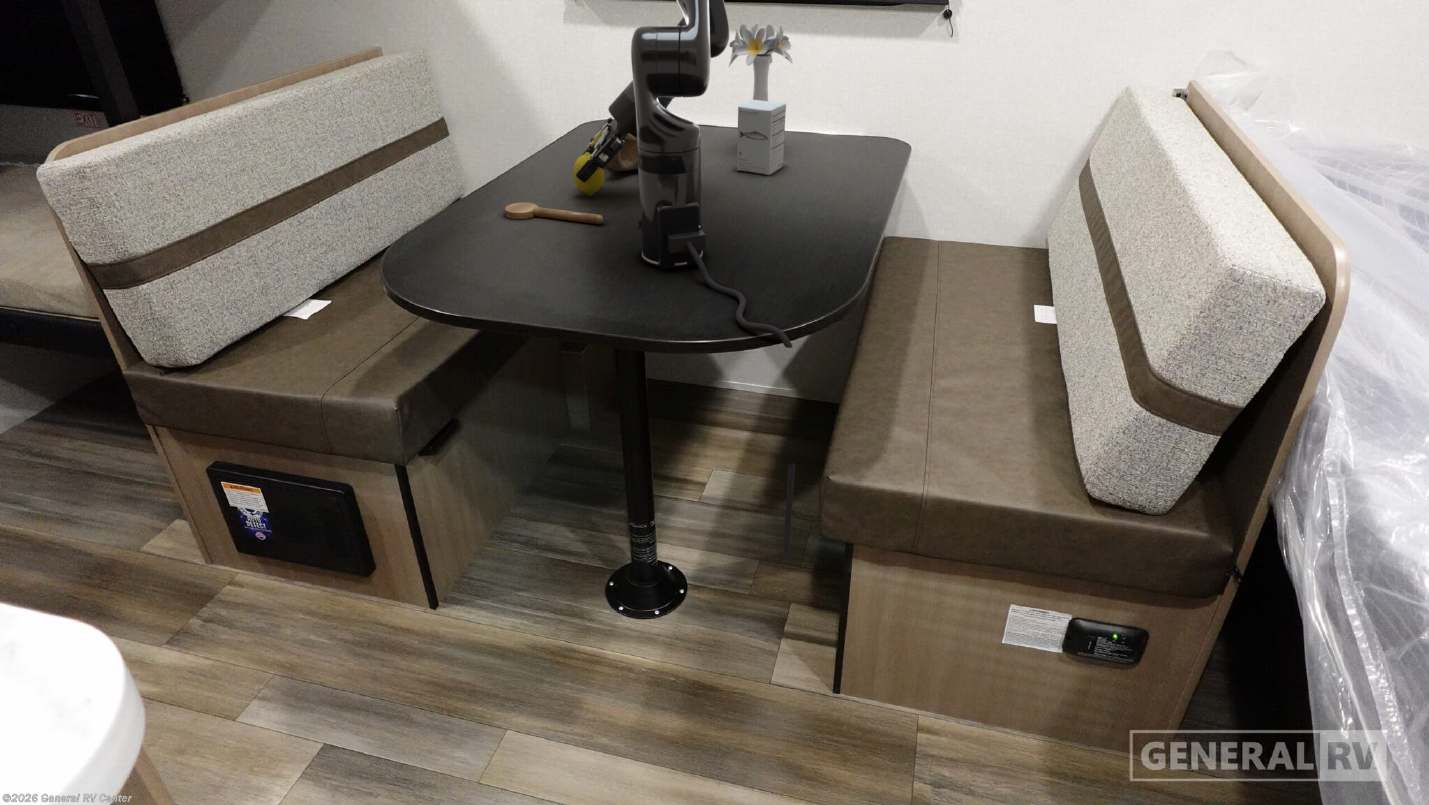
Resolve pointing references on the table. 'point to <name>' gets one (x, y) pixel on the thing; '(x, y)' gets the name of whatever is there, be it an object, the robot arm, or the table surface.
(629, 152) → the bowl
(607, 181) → the table surface
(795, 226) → the table surface
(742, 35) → the flower vase
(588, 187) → the lemon
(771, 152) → the white packaging box
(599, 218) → the spoon
